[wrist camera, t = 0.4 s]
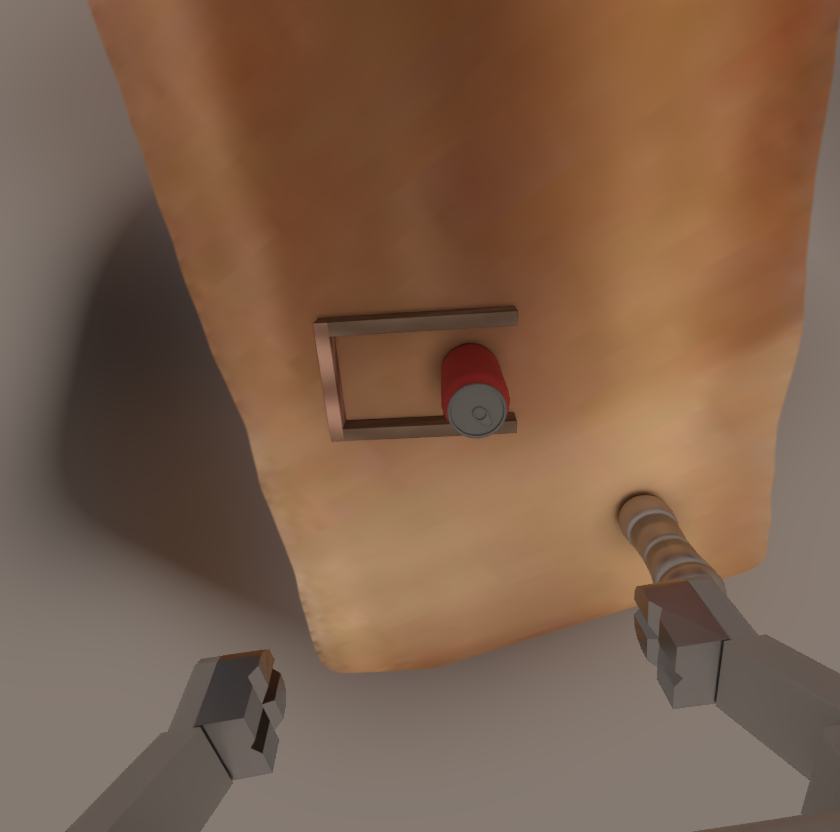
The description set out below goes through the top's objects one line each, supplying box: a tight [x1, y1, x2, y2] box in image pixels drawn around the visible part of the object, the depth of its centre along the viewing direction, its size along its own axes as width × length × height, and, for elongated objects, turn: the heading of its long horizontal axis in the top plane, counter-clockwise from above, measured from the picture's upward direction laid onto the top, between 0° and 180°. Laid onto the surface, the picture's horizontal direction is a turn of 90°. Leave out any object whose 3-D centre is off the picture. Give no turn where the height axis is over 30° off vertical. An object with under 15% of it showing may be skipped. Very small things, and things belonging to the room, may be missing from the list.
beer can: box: [441, 344, 510, 438], centre depth 52 cm, size 7×7×12 cm
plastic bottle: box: [619, 495, 727, 595], centre depth 55 cm, size 6×7×20 cm
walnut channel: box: [313, 306, 518, 442], centre depth 57 cm, size 14×22×2 cm, turn 94°
